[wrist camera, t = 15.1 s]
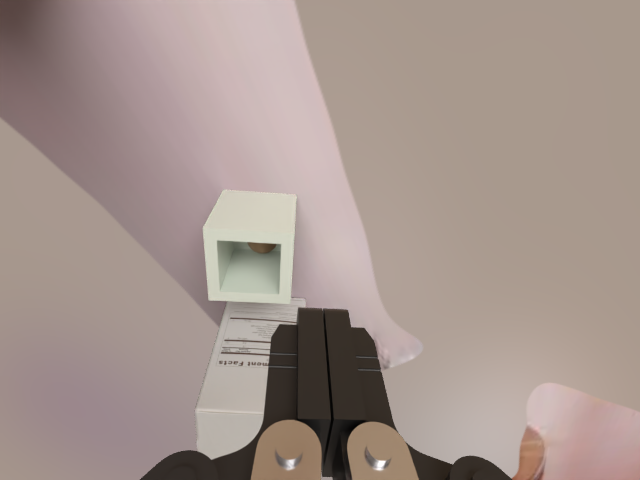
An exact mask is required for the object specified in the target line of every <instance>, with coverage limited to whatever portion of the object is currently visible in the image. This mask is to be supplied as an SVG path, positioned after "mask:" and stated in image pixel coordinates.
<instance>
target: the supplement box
mask: <svg viewBox="0 0 640 480" xmlns="http://www.w3.org/2000/svg"><path fill="white" fill-rule="evenodd" d="M298 307H302V308H306V299H304V298H291V302H290V304H278V303H256V302H234V301H227V303H226V306H225V310H224V313H223V317H222V320H221V323H220V327H219V330H218V333H217V337H216V340H215V343H214V347H213V350H212V353H211V357H210V360H209V363H208V367H207V370H206V373H205V377H204V380H203V383H202V387H201V390H200V393H199V397H198V400H197V404H196V407H195V423H196V436H197V442H196V446H197V450H198V452H201V453H203V454H205V455H206V456H208V457H209V458H210V459H211V460H212V459H215V458H218V457H221V456H224V455H227V454H230V453H233V452H235V451H238V450H240V449H242V448H243V447H245V446H246V445H247V444H249V443H250V442H251V441H252V440H253V439H254V438H255V436H256V435H257V434H258V432H259V430H260V428H261V425H262V423H263V417H264V407H265V396H266V386H267V376H268V366H269V355H270V345H271V336H272V335H273V333H274V332H275V330H276V329H277V327H278V326H279V324H289V325H296V322H297V312H298Z"/></svg>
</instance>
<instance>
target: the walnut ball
mask: <svg viewBox="0 0 640 480" xmlns="http://www.w3.org/2000/svg"><path fill="white" fill-rule="evenodd" d="M247 243H248V245H249V247H250V248H251V249H252V250H253V251H255V252H257V253H268V252H270V251H272V250H273V249H274V248H275V247H276V245H277V244H272V243H254V242H247Z"/></svg>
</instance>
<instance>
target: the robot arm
mask: <svg viewBox="0 0 640 480" xmlns="http://www.w3.org/2000/svg"><path fill="white" fill-rule="evenodd" d="M321 472H322V476H323V477H333V480H512V479H511V478H510V477H509V476H507V475H506V474H505V473H504V472H503V471H502V470H501V469H499V468H498V467H497V466H495V465H494V464H493V463H491V462H489V461H488V460H485V459H483V458H480V457H476V456H465V457H461V458H460V459H458V460H457V461H456V462H455V463H454V464H453V465H452V464H450V463H447V462H444V461H441V460H438V459H435V458H433V457H430V456H427V455H425V454H422V453H420V452H418V451H417V450H415V449H413V448H412V447H411V446H409V445H408V444H407V443H406V442H405V441H404V439H403V438H402V436H401V435H400V434H399V433H398V431H397V430H396V428H395V425H394V422H393V419H392V415H391V410H390V407H389V402H388V398H387V393H386V390H385V385H384V381H383V377H382V373H381V368H380V364H379V360H378V355H377V351H376V347H375V343H374V340H373V339H372V338H371V336H370V335H369V334H368V332H367V331H366V330H365V328H354V327H351V324H350V318H349V313H348V310H343V309H323V311H322V309H321V308H302V307H298V312H297V322H296V325H289V324H279V326H278V327H277V329H276V330H275V332H274V333H273V335H272V336H271V345H270V355H269V366H268V376H267V386H266V396H265V407H264V417H263V423H262V425H261V428H260V430H259V432H258V434H257V435H256V436H255V438H254V439H253V440H252V441H251V442H250V443H249V444H247V445H246V446H245V447H243V448H242V449H240V450H238V451H235V452H233V453H230V454H227V455H224V456H221V457H218V458H215V459H212V460H211V459H210V458H209V457H208V456H206V455H205V454H203V453H201V452H198V451H191V450H188V451H181V452H177V453H174V454H172V455H170V456H168V457H166V458H165V459H163V460H162V461H161V462H159V463H158V464H157V465H156V466H155V467H153V468H152V469H151V470H150V471H149V472H148V473H147V474H146V475H145V476H143V478H141V479H140V480H321Z"/></svg>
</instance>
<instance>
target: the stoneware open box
mask: <svg viewBox="0 0 640 480" xmlns="http://www.w3.org/2000/svg"><path fill="white" fill-rule="evenodd" d="M296 200H297V195H296V194H281V193H266V192H252V191H237V190H223V191H222V193H221V195H220V197H219V199H218V201H217V202H216V204H215V206H214V208H213V210H212V212H211V214H210V215H209V217H208V219H207V221H206V223H205V225H204V227H203V238H204V250H205V262H206V274H207V287H208V299H209V300H212V301H234V302H256V303H278V304H290V302H291V285H292V269H293V252H294V235H295V218H296ZM247 242H254V243H272V244H277V245H276V247H275V248H274V249H273V250H272V251H270V252H268V253H257V252H255V251H253V250H252V249H251V248H250V247H249V245H248V243H247Z"/></svg>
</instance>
